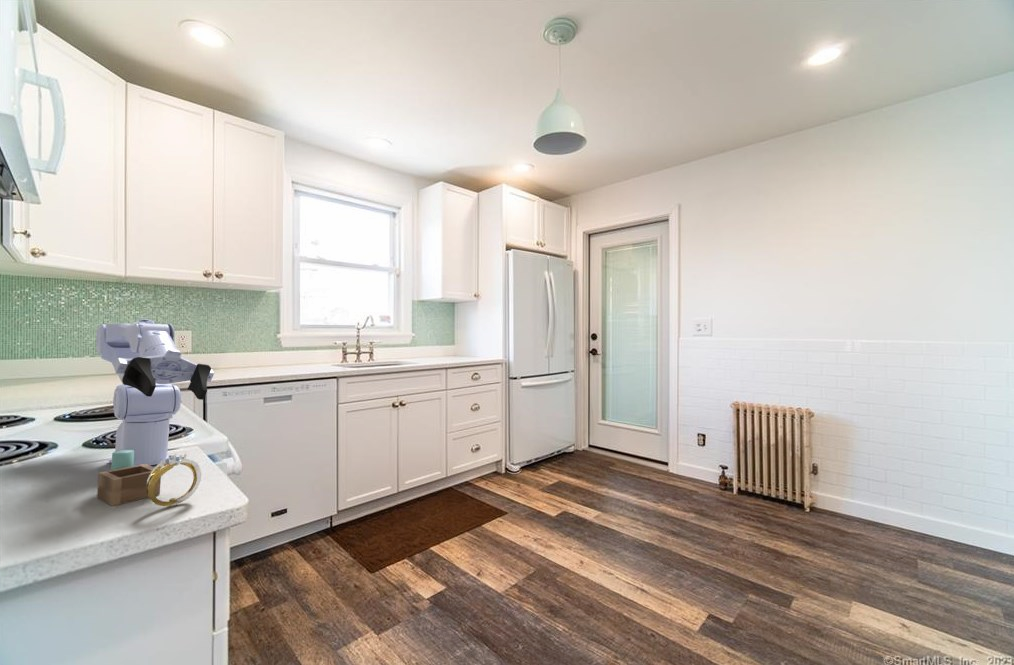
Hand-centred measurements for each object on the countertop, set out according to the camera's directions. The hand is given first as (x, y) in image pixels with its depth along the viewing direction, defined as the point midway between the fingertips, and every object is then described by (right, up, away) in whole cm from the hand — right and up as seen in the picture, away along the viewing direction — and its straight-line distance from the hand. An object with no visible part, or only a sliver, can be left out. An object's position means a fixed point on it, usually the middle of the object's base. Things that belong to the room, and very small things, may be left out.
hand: (178, 393), depth 72 cm
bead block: (-4, -16, -5) cm, 17 cm away
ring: (+6, -17, -8) cm, 19 cm away
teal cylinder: (-9, -16, -1) cm, 19 cm away
